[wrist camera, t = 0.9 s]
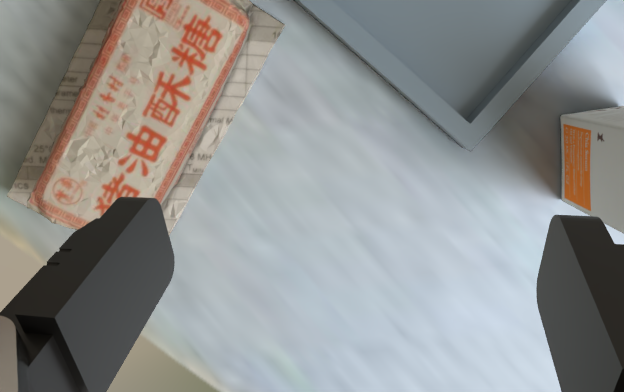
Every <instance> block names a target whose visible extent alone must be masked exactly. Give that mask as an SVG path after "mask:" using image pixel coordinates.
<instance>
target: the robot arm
mask: <svg viewBox="0 0 624 392" xmlns="http://www.w3.org/2000/svg"><path fill="white" fill-rule="evenodd" d="M59 249H60V251H59V252H56V253H55V254H54V255H53V256H52V257H51V258H50V259H49V260H48V261H47V265H46V266H43V267H42V268H41V269H40V270H39V271H38V272H37V273H36V274H35V276H34V277H33V278H32V279H31V280H30V281H29V282H28V283H27V284H26V285H25V286H24V287H23V289H22V290H21V291H20V292H19V293H18V294H17V295H16V296H15V297H14V298H13V299H12V301H11V302H10V303H9V304H8V305H7V306H6V307H5V308H4V309H3V310H2V311H1V312H0V392H106V391H107V390H108V388H109V386H110V384H111V383H112V381H113V379H114V378H115V376H116V374H117V372H118V371H119V369H120V367H121V366H122V364H123V362H124V360H125V359H126V357H127V355H128V354H129V352H130V350H131V348H132V347H133V345H134V343H135V341H136V340H137V338H138V336H139V335H140V333H141V331H142V329H143V328H144V326H145V324H146V323H147V321H148V319H149V317H150V316H151V314H152V312H153V311H154V309H155V307H156V305H157V304H158V302H159V300H160V298H161V297H162V295H163V293H164V292H165V290H166V288H167V286H168V285H169V283H170V281H171V278H172V275H173V271H174V253H173V249H172V245H171V242H170V238H169V234H168V230H167V226H166V223H165V219H164V215H163V211H162V208H161V205H160V203H159V201H158V200H157V199H155V198H144V197H119V198H118V199H116V200H115V202H114V203H113V204H112V205H111V206H110V207H109V208H108V209H107V211H106V212H105V213H104V214H103V215H102V216H101V217H100V218H96V219H94V220H93V221H91V222H89V223H88V224H86V225H85V226H83V227H82V228H80V229H78V230H77V231H75V232H74V233H73V234H72V235H71V236H70V237H69V239H68V240H67V241H66V242H65V243H64V244H63V245H62V246H61V247H60V248H59ZM537 304H538V309H539V313H540V316H541V320H542V323H543V327H544V330H545V334H546V338H547V341H548V345H549V348H550V352H551V355H552V359H553V362H554V366H555V370H556V373H557V377H558V380H559V384H560V387H561V391H562V392H624V245H620V244H614V242H613V240H612V238H611V236H610V234H609V233H608V231H607V229H606V227H605V225H604V223H603V221H602V220H601V219H600V218H599V217H596V216H571V215H554V216H553V218H552V219H551V222H550V225H549V230H548V234H547V238H546V243H545V247H544V251H543V256H542V260H541V265H540V269H539V273H538V278H537Z"/></svg>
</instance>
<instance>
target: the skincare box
mask: <svg viewBox="0 0 624 392" xmlns="http://www.w3.org/2000/svg"><path fill="white" fill-rule="evenodd" d="M560 120H561V147H562V195H561V197H562V201H563V202H565V203H567V204H569V205H571V206H573V207H575V208H576V209H578V210H580V211H582V212H584V213H586V214H588V215H590V216H596V217H599V218H600V219H601V220H602V221H603V223H605V224H607V225H609V226H611V227H612V228H614V229H616V230H618V231H620V232H622V233H624V106H620V107H613V108H605V109H598V110H591V111H585V112H578V113H571V114H563V115H561V117H560Z"/></svg>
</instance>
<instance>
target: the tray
mask: <svg viewBox="0 0 624 392" xmlns="http://www.w3.org/2000/svg"><path fill="white" fill-rule="evenodd" d="M294 1H296V2H297V3H298V4H299V5H300V6H301V7H302V8H304V9H305V10H306V11H307V12H308V13H309V14H310V15H312V16H313V17H314V18H315V19H316V20H317V21H318V22H320V23H321V24H322V25H323V26H324V27H325V28H326V29H328V30H329V31H330V32H331V33H332V34H333V35H334V36H336V37H337V38H338V39H339V40H340V41H341V42H342V43H343V44H345V45H346V46H347V47H348V48H349V49H350V50H351V51H353V52H354V53H355V54H356V55H357V56H358V57H359V58H361V59H362V60H363V61H364V62H365V63H366V64H367V65H369V66H370V67H371V68H372V69H373V70H374V71H375V72H377V73H378V74H379V75H380V76H381V77H382V78H383V79H385V80H386V81H387V82H388V83H389V84H390V85H391V86H393V87H394V88H395V89H396V90H397V91H398V92H399V93H400V94H402V95H403V96H404V97H405V98H406V99H407V100H408V101H410V102H411V103H412V104H413V105H414V106H415V107H416V108H418V109H419V110H420V111H421V112H422V113H423V114H424V115H426V116H427V117H428V118H429V119H430V120H431V121H432V122H434V123H435V124H436V125H437V126H438V127H439V128H440V129H442V130H443V131H444V132H445V133H446V134H447V135H448V136H450V137H451V138H452V139H453V140H454V141H455V142H456V143H458V144H459V145H460V146H461V147H462V148H465V149H467V150H469V151H472V150H473V149H474V147H475V146H476V145H477V144H478V143H479V142H480V141H481V140H482V139H483V137H484V136H485V135H486V134H487V133H488V132H489V131H490V130H491V129H492V127H493V126H494V125H495V124H496V123H497V122H498V121H499V120H500V119H501V117H502V116H503V115H504V114H505V113H506V112H507V111H508V110H509V109H510V107H511V106H512V105H513V104H514V103H515V102H516V101H517V100H518V99H519V97H520V96H521V95H522V94H523V93H524V92H525V91H526V90H527V88H528V87H529V86H530V85H531V84H532V83H533V82H534V81H535V80H536V78H537V77H538V76H539V75H540V74H541V73H542V72H543V71H544V70H545V68H546V67H547V66H548V65H549V64H550V63H551V62H552V61H553V60H554V58H555V57H556V56H557V55H558V54H559V53H560V52H561V51H562V50H563V48H564V47H565V46H566V45H567V44H568V43H569V42H570V41H571V40H572V38H573V37H574V36H575V35H576V34H577V33H578V32H579V31H580V30H581V28H582V27H583V26H584V25H585V24H586V23H587V22H588V21H589V20H590V18H591V17H592V16H593V15H594V14H595V13H596V12H597V11H598V9H599V8H600V7H601V6H602V5H603V4H604V3H605V2H606V1H607V0H294Z"/></svg>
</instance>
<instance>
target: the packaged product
mask: <svg viewBox="0 0 624 392" xmlns="http://www.w3.org/2000/svg"><path fill="white" fill-rule="evenodd" d="M285 26H286V25H285V24H283V23H281V22H280V21H278V20H277V19H275V18H274V17H272V16H271V15H269V14H268V13H266V12H265V11H263V10H261V9H260V8H258V7H257V6H255V5H254V4H253V3H252V2H250V1H249V0H100V3H99V5H98V7H97V9H96V11H95V13H94V15H93V18H92V20H91V22H90V23H89V25H88V28H87V30H86V32H85V34H84V36H83V38H82V40H81V43H80V45H79V46H78V48H77V50H76V52H75V54H74V56H73V58H72V60H71V62H70V65H69V68H68V70H67V72H66V74H65V75H64V77H63V79H62V82H61V84H60V86H59V88H58V90H57V93H56V95H55V97H54V99H53V101H52V103H51V105H50V107H49V109H48V112H47V115H46V117H45V119H44V121H43V123H42V124H41V126H40V128H39V130H38V132H37V134H36V136H35V138H34V140H33V142H32V145H31V147H30V149H29V151H28V153H27V155H26V157H25V159H24V161H23V164H22V166H21V168H20V170H19V171H18V175H17V177H16V179H15V181H14V183H13V186H12V187H11V189H10V191H9V193H8V195H7V197H9V198H11V199H13V200H15V201H17V202H19V203H21V204H23V205H25V206H27V208H31V209H33V210H34V211H36V212H37V213H39V214H41V215H42V216H44V217H46V218H47V219H48V220H50V221H51V222H52V223H55V224H59V225H62V226H65V227H68V228H72V229H76V230H78V229H80V228H82V227H83V226H85V225H86V224H88V223H89V222H91V221H93V220H94V219H96V218H100V217H101V216H102V215H103V214H104V213H105V212H106V211H107V209H108V208H109V207H110V206H111V205H112V204H113V203H114V202H115V200H116V199H118V198H119V197H144V198H155V199H157V200H158V201H159V203H160V205H161V208H162V211H163V215H164V219H165V223H166V226H167V230H168V234H169V235H170V233H171V231H172V230H173V228H174V226H175V225H176V223H177V221H178V220H179V218H180V216H181V214H182V212H183V210H184V208H185V206H186V204H187V202H188V200H189V198H190V197H191V195H192V193H193V191H194V189H195V187H196V185H197V183H198V181H199V180H200V178H201V176H202V174H203V172H204V170H205V168H206V166H207V165H208V163H209V161H210V159H211V158H212V156H213V155H214V153H215V151H216V150H217V148H218V146H219V144H220V143H221V141H222V139H223V138H224V136H225V134H226V132H227V130H228V128H229V125H230V124H231V123H232V121H233V119H234V116H235V114H236V112H237V110H238V109H239V107H240V106H241V105H242V103H243V101H244V100H245V98H246V96H247V94H248V93H249V91H250V89H251V87H252V85H253V84H254V82H255V80H256V78H257V76H258V75H259V73H260V71H261V69H262V66H263V64H264V62H265V60H266V58H267V56H268V54H269V52H270V50H271V49H272V47H273V45H274V44H275V42H276V40H277V39H278V37H279V35H280V34H281V32H282V30H283V29H284V27H285Z"/></svg>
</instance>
